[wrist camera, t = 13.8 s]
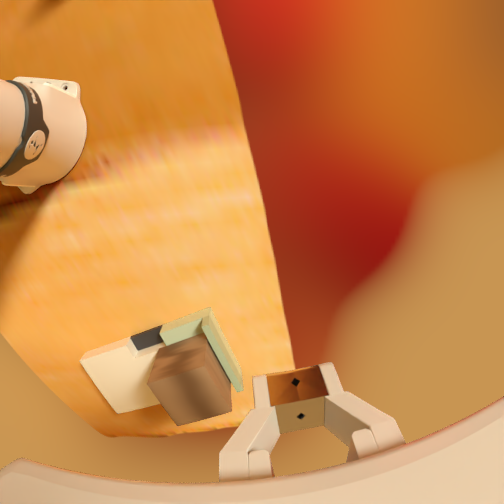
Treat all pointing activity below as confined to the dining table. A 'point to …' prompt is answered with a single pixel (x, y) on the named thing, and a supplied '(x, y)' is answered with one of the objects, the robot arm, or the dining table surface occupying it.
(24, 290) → the dining table surface
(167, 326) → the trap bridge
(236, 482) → the robot arm
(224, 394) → the walnut block
